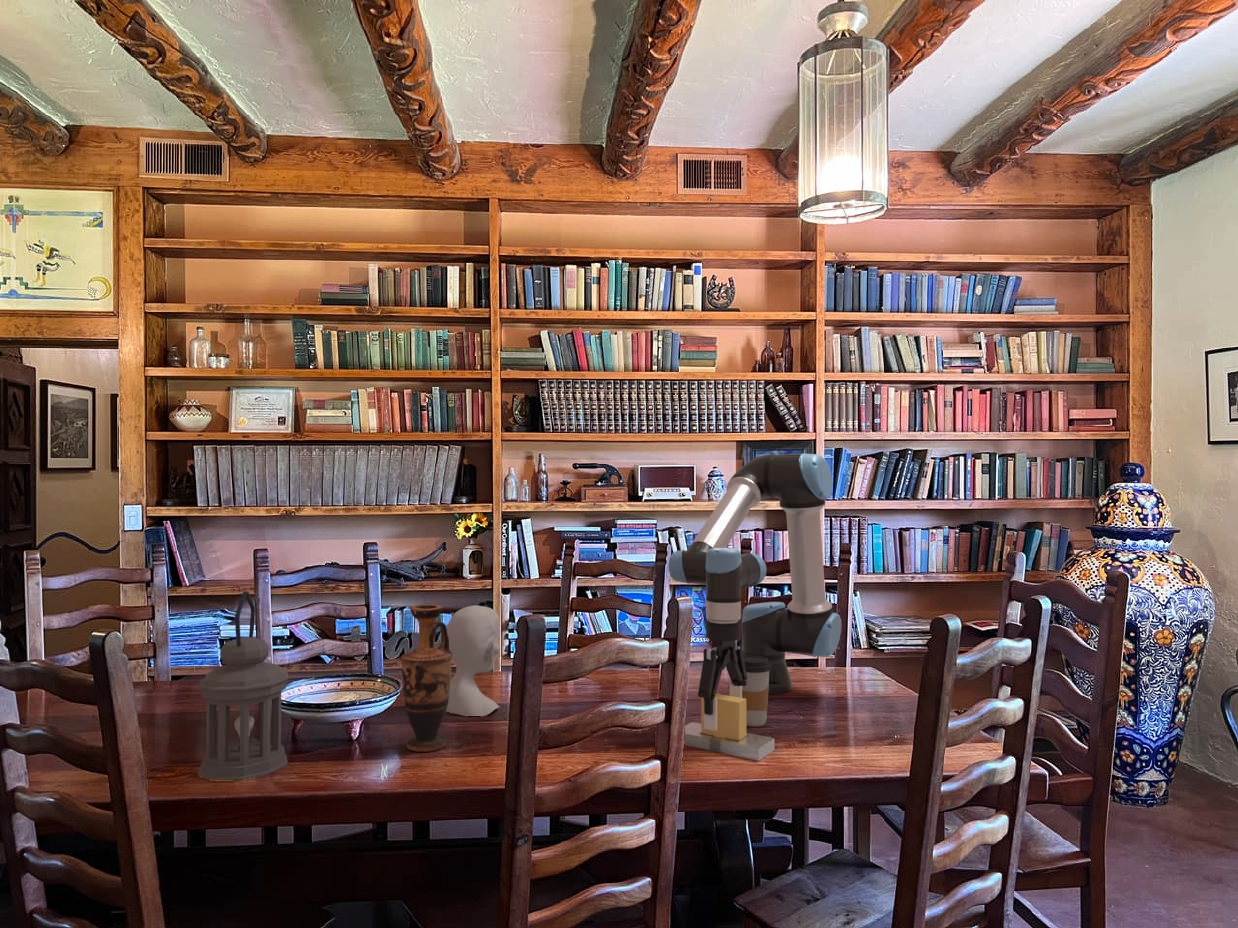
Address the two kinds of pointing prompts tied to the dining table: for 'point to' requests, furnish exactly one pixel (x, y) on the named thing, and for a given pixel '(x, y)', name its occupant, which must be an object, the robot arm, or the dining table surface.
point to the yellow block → (728, 718)
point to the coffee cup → (756, 689)
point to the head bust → (472, 658)
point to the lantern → (243, 708)
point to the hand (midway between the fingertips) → (723, 722)
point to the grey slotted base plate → (730, 743)
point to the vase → (427, 680)
